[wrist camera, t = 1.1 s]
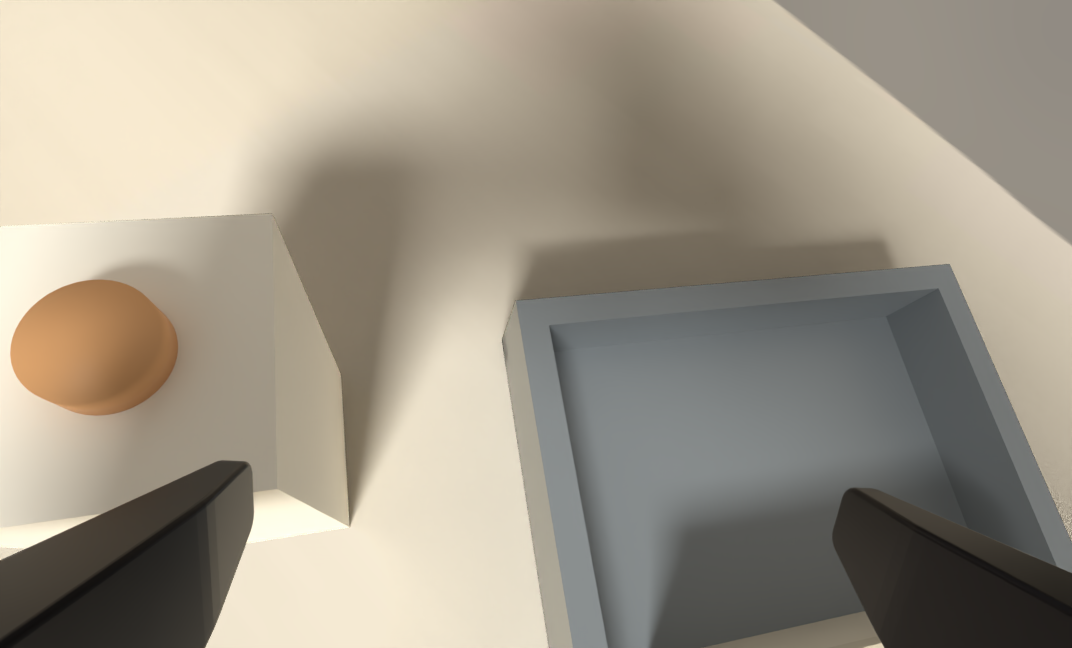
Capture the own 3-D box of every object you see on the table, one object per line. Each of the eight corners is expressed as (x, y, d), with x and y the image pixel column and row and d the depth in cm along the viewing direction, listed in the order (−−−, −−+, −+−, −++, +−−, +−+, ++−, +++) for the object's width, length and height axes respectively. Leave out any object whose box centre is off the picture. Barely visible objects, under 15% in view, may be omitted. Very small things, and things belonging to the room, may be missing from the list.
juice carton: (349, 527, 21) (266, 483, 10) (174, 554, 20) (-151, 541, 9) (341, 375, 23) (263, 191, 12) (180, 392, 22) (-80, 204, 10)
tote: (1108, 887, 21) (1253, 956, 17) (614, 1076, 17) (666, 1216, 13) (881, 302, 28) (949, 263, 25) (501, 340, 24) (515, 300, 21)
